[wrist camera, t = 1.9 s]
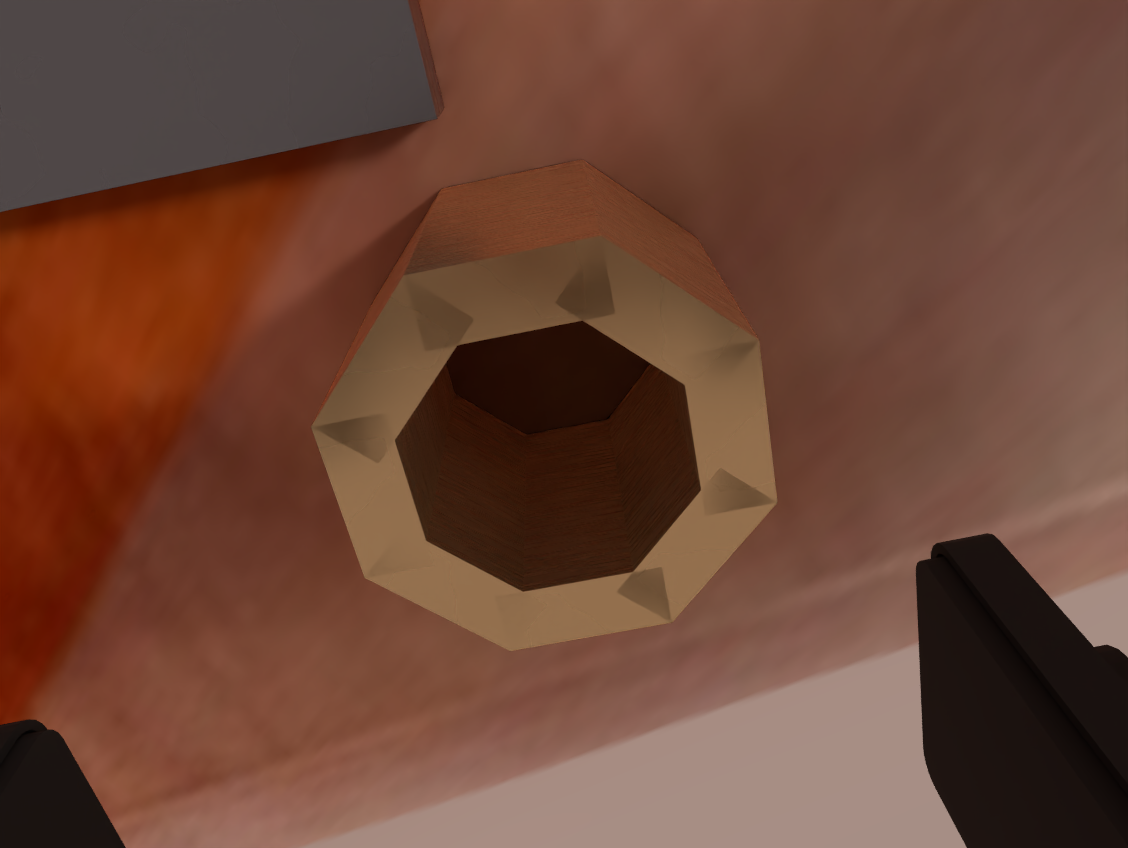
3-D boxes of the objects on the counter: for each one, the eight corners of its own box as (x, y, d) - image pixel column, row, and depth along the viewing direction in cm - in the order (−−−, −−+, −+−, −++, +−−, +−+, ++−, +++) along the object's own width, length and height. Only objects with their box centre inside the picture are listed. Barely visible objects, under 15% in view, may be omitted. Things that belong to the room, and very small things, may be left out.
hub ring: (683, 138, 18) (744, 207, 13) (725, 444, 22) (788, 602, 16) (343, 209, 19) (266, 303, 14) (431, 499, 22) (397, 670, 17)
